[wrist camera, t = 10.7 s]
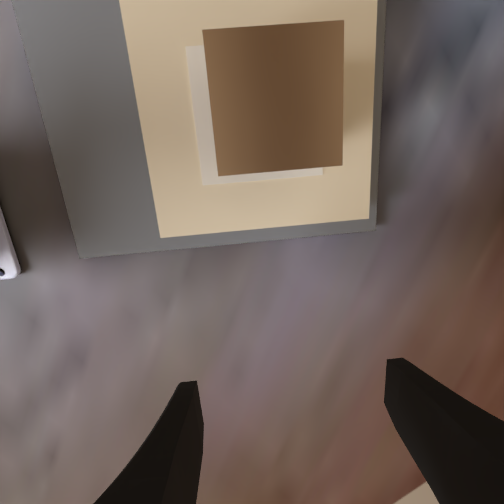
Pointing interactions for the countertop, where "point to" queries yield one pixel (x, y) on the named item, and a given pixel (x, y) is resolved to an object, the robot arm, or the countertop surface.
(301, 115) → the walnut block
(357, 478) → the countertop surface
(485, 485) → the robot arm
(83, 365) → the countertop surface
